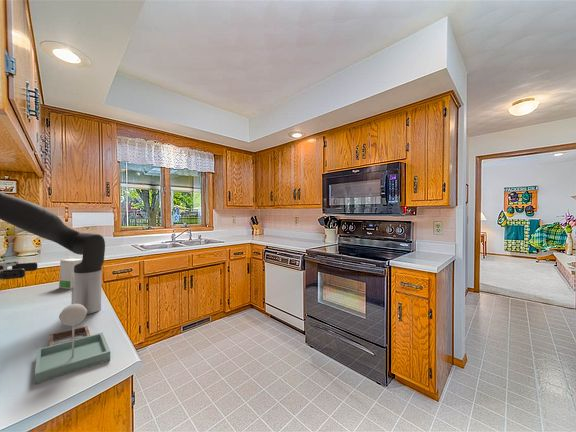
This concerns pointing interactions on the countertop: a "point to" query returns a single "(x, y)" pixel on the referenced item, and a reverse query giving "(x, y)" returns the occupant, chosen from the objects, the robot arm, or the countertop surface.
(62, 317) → the lollipop
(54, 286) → the countertop surface
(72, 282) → the skincare box
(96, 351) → the tray
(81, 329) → the square wooden frame
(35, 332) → the countertop surface
